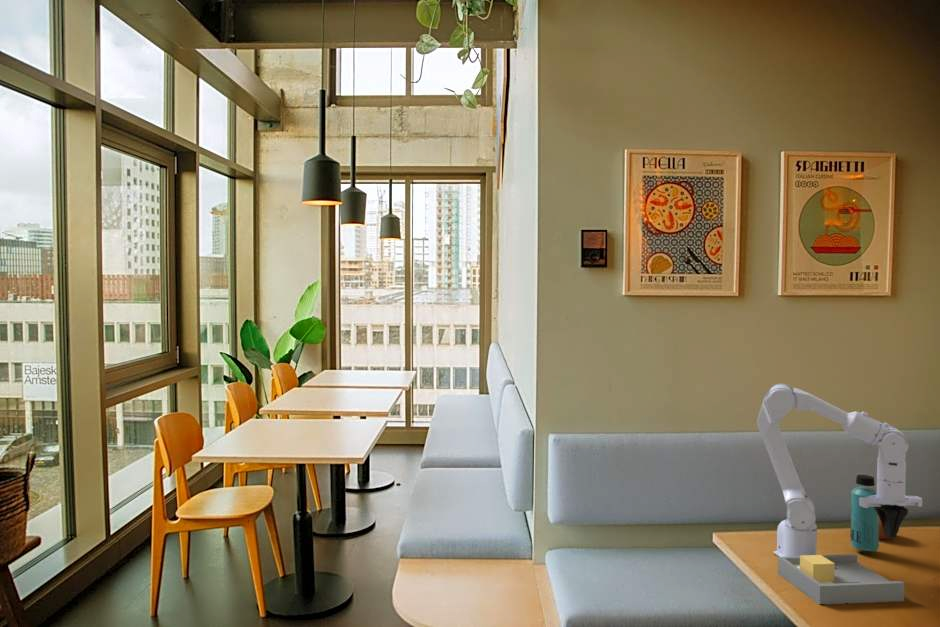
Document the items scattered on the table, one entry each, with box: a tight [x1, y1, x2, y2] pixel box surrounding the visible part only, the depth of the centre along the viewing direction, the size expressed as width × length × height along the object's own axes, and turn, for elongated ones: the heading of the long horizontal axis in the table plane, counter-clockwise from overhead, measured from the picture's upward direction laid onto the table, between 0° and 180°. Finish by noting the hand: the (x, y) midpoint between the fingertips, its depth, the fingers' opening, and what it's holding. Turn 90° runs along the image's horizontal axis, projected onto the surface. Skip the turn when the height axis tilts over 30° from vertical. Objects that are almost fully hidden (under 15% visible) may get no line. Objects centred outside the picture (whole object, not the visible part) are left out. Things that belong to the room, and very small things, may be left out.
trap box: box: [777, 553, 905, 605], centre depth 149 cm, size 16×19×4 cm
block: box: [800, 554, 835, 582], centre depth 148 cm, size 5×5×4 cm
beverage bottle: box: [849, 474, 880, 552], centre depth 169 cm, size 6×7×20 cm
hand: (890, 536), depth 155 cm, fingers closed
